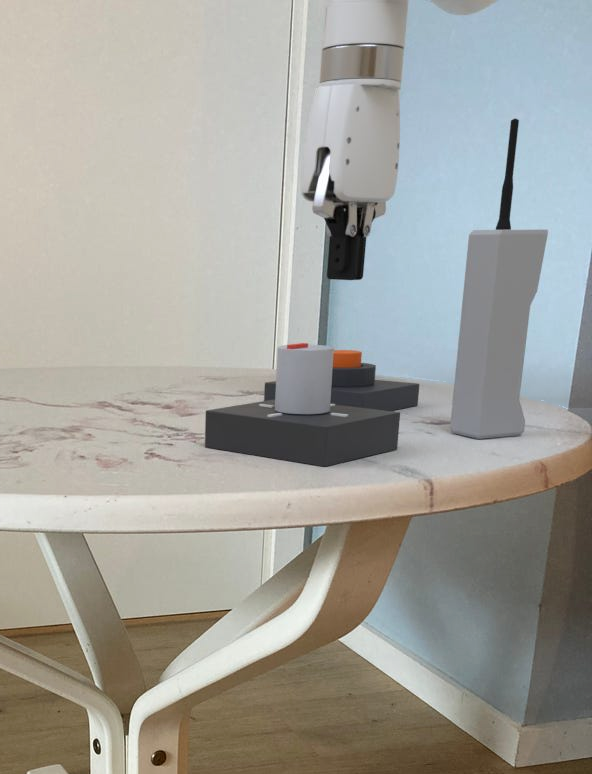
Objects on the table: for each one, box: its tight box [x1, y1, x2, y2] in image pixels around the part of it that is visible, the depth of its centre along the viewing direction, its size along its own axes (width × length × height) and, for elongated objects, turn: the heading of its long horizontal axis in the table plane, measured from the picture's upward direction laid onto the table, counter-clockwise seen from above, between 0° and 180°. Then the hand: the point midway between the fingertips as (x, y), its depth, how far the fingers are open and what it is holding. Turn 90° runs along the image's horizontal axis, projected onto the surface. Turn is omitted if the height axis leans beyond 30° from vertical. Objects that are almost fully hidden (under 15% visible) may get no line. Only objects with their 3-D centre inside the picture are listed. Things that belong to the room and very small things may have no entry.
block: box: [263, 362, 420, 411], centre depth 113 cm, size 12×10×4 cm
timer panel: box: [204, 399, 401, 468], centre depth 90 cm, size 12×10×3 cm
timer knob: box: [275, 342, 335, 415], centre depth 88 cm, size 4×4×5 cm
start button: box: [333, 349, 363, 368], centre depth 112 cm, size 4×4×2 cm
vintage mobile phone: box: [449, 117, 549, 440], centre depth 92 cm, size 4×5×25 cm
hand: (344, 279), depth 109 cm, fingers closed
